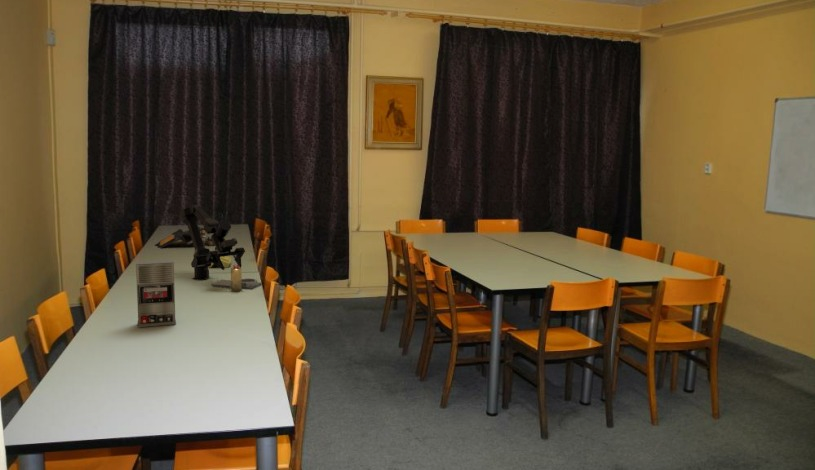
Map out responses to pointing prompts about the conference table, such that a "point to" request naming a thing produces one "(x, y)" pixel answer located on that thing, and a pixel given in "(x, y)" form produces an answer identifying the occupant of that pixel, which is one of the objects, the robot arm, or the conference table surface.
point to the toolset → (183, 238)
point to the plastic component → (224, 261)
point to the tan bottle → (236, 279)
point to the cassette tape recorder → (155, 293)
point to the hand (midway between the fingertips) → (232, 268)
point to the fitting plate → (246, 283)
